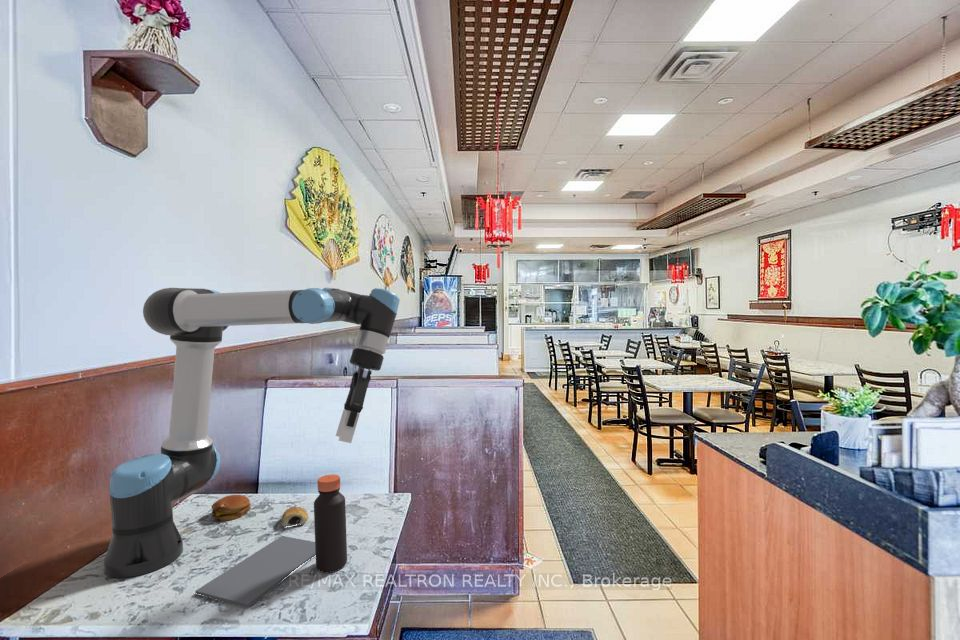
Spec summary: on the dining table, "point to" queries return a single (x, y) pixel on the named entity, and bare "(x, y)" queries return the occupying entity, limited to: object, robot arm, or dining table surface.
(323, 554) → the vinegar
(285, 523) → the pastry
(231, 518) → the burger
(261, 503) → the dining table surface
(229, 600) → the mat
